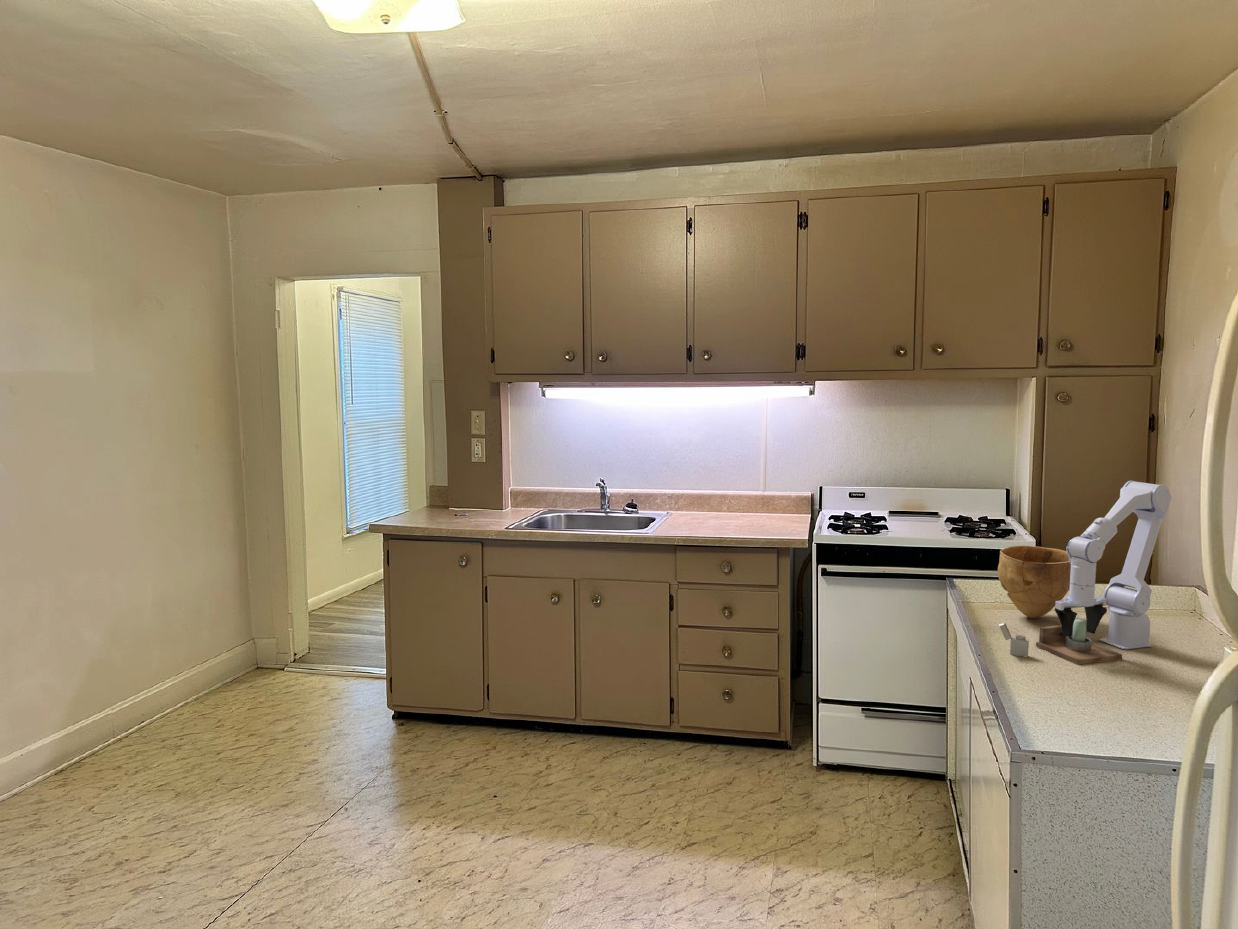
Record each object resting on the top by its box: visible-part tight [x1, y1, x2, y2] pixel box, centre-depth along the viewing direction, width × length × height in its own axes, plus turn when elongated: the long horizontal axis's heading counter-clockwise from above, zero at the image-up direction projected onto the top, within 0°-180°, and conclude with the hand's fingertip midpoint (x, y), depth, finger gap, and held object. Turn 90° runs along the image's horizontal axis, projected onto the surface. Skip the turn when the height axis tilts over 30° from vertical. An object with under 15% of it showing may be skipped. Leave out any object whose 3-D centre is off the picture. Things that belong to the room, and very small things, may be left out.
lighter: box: [998, 622, 1030, 658], centre depth 216 cm, size 7×2×8 cm, turn 59°
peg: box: [1072, 618, 1087, 642], centre depth 217 cm, size 3×3×7 cm
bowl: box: [997, 545, 1071, 619], centre depth 246 cm, size 21×20×20 cm
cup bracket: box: [1035, 624, 1123, 666], centre depth 217 cm, size 14×14×5 cm
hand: (1079, 634), depth 217 cm, fingers open, 7 cm apart
